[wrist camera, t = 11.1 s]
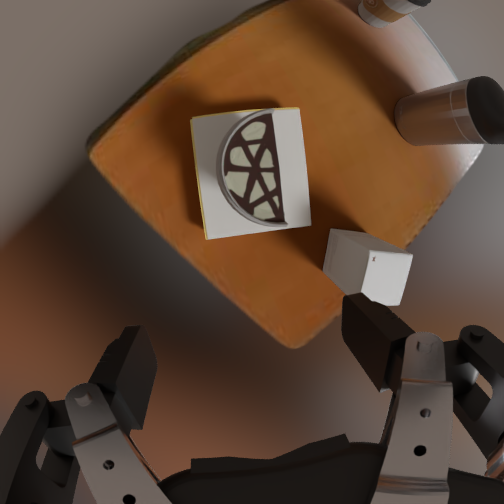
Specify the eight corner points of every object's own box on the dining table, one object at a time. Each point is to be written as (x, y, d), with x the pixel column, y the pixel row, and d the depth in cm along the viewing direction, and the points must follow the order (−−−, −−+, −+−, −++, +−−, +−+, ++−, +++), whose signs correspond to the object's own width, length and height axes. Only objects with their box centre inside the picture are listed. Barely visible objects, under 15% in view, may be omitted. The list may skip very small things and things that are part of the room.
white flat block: (291, 113, 36) (298, 107, 32) (302, 220, 40) (311, 225, 37) (192, 122, 35) (189, 117, 31) (207, 233, 39) (205, 239, 36)
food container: (211, 128, 32) (207, 110, 22) (259, 122, 32) (274, 103, 23) (224, 222, 35) (225, 239, 26) (270, 215, 36) (289, 230, 26)
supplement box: (321, 272, 43) (354, 307, 31) (329, 227, 41) (369, 248, 29) (359, 274, 44) (399, 307, 32) (368, 232, 42) (415, 254, 30)
